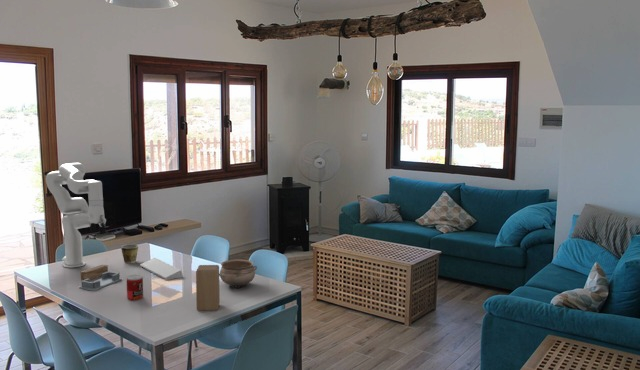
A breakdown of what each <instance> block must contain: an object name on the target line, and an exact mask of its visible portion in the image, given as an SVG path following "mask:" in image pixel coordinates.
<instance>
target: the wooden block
mask: <svg viewBox="0 0 640 370" xmlns="http://www.w3.org/2000/svg"><path fill="white" fill-rule="evenodd" d="M219 274H220V266H219V265H218V264H199V265H198V267H197V269H196V271H195V284H196V285H195V288H196V289H195V292H196V298H195V299H196V300H195V301H196V311H199V312H201V311H202V312H203V311H205V312H206V311H207V312H208V311H210V312H211V311H214V312H215V311H218V309H219V307H220V276H219Z"/></svg>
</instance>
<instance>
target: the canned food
mask: <svg viewBox="0 0 640 370" xmlns="http://www.w3.org/2000/svg"><path fill="white" fill-rule="evenodd" d="M143 280H144V277H143V275H141V274H130V275H128V276H126V298H127V300H128V301H139V300H141V299H143V297H144V283H143V282H144V281H143Z"/></svg>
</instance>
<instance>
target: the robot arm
mask: <svg viewBox="0 0 640 370" xmlns="http://www.w3.org/2000/svg"><path fill="white" fill-rule="evenodd" d="M85 174H86V167H85V165H84V164H83V163H80V162H69V163H63V164H61V165H60V166H59V168H58V170H55V171H51V172H48V173H47V174H46V176H45V183H46V186H47V188H48V190H49V191H50V193H51V194H52V196H53V198H54V200H55V202H56V205H57V208H58V210H59V211H60V213H61V214H62V215H63V217H62V219H61V223H62V228H63V234H64V252H65V253H64V255H65V256H63V258H61V261H62V262H63V261H64V263H62V267H63V268H67V269H69V268H80V267H83V266H85V265H86V264H87V263H86V261H85V260H83V259H84V258H83V253H84V252H83V237H82V234H81V232H80V231H79V229H83V228H84V229H85V228H89V232H90V233H95V232H96V231H97V227H96V226H97V225H96V224H98V225H99V228H98V229H99V230H98V231H99V234H100V235H102V234H103V235H104V234H106V223H107V218H105V209H104V196H103V182H102V181H101V180H95V179H85V180H84V176H85ZM62 185H67V188H68V189H69V190H67V189H66V188H65V187H63V186H62ZM69 191H71V192H72V193H73V194H75V195H83V194H87V196H88V202H87V201H86V199H84V197H81V196H79V197H78V196H76V197H72V196H71V194H70V193H69Z"/></svg>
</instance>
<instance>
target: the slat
mask: <svg viewBox="0 0 640 370" xmlns="http://www.w3.org/2000/svg"><path fill="white" fill-rule="evenodd" d="M108 267H109V266H108V265H107V264H99V265H96V266H93V267H90V268H87V269H84V270H82V271H80V280H81V281H83V280H85V279H90V280H92V279H95V278H99V277H102V276H101V275H102V273H105V272H109V269H108Z"/></svg>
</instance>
